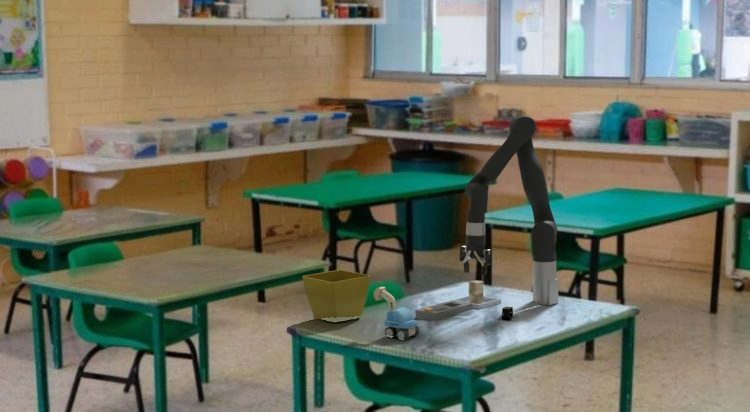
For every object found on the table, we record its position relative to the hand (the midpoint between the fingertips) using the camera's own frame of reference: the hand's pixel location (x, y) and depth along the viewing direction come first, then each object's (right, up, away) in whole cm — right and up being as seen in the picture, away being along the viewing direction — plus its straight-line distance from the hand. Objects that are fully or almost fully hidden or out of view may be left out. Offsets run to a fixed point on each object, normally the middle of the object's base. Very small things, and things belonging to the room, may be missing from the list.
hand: (475, 273), depth 495 cm
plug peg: (0, -12, +1) cm, 12 cm away
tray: (0, -13, +1) cm, 13 cm away
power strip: (-13, -15, -13) cm, 24 cm away
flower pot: (-54, -16, -18) cm, 59 cm away
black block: (+10, -16, -21) cm, 29 cm away
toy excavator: (-32, -20, -47) cm, 60 cm away
